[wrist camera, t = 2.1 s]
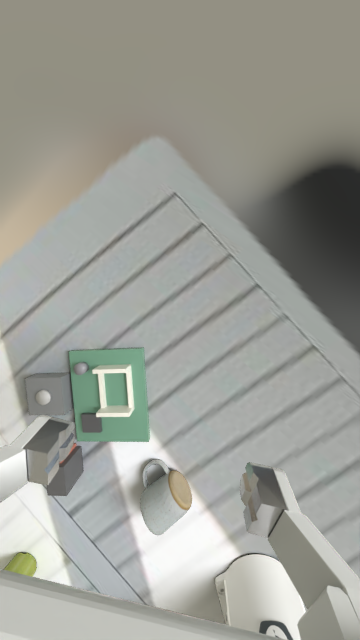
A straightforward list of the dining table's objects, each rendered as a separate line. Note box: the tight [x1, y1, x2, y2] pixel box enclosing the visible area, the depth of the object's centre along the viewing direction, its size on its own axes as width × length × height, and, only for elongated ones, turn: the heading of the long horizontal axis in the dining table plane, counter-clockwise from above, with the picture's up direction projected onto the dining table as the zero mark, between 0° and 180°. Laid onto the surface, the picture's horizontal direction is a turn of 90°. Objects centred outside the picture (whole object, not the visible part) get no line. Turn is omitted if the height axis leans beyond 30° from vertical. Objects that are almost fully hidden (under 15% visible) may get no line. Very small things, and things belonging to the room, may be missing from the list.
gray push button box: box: [25, 373, 73, 415], centre depth 43 cm, size 8×8×4 cm
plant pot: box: [4, 553, 37, 577], centre depth 45 cm, size 9×9×9 cm
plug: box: [47, 443, 84, 496], centre depth 43 cm, size 7×4×6 cm, turn 3°
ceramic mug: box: [140, 459, 192, 535], centre depth 41 cm, size 11×8×8 cm
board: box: [69, 347, 150, 442], centre depth 42 cm, size 20×16×4 cm
